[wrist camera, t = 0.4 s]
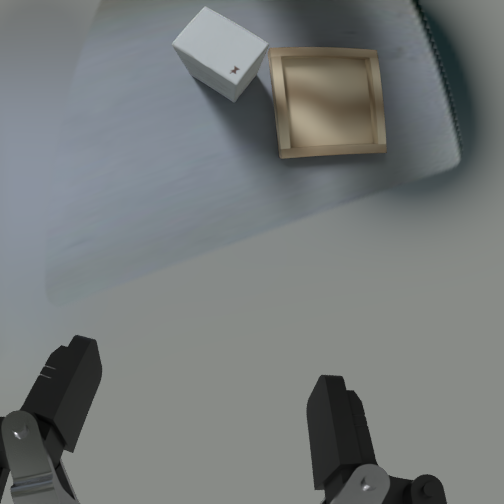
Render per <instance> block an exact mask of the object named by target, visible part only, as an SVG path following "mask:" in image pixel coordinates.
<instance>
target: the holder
mask: <svg viewBox="0 0 504 504" xmlns="http://www.w3.org/2000/svg"><path fill="white" fill-rule="evenodd" d="M268 58H269V67H270V75H271V84H272V93H273V102H274V111H275V120H276V130H277V140H278V150H279V158H282V159H284V158H296V157H309V156H324V155H341V154H363V153H387V149H386V131H385V117H384V106H383V95H382V86H381V77H380V69H379V62H378V55H377V50H369V49H356V48H336V47H282V48H270V49H269V51H268Z"/></svg>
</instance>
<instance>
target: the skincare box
mask: <svg viewBox="0 0 504 504" xmlns="http://www.w3.org/2000/svg"><path fill="white" fill-rule="evenodd" d="M172 46H173V47H174V49H175V51H176V52H177V54H178V55H179V57H180V59H181V60H182V62H183V63H184V65H185V67H186V68H187V70H188V71H189V73H190V74H191V75H192V76H193V77H195V78H197V79H198V80H200V81H201V82H203V83H204V84H206V85H208V86H209V87H211V88H212V89H214V90H215V91H217V92H218V93H220V94H221V95H223V96H225V97H226V98H228V99H229V100H231V101H232V102H233V103H235V102H236V100H237V99H238V98H239V96H240V95H241V94H242V93H243V91H244V90H245V89H246V88H247V86H248V85H249V84H250V82H251V81H252V80H253V78H254V77H255V76H256V75H257V72H258V70H259V68H260V65H261V63H262V60H263V58H264V56H265V54H266V51H267V49H268V46H269V44H268V43H267V42H265V41H264V40H262V39H261V38H259V37H258V36H256V35H254V34H253V33H251V32H250V31H248V30H247V29H245V28H243V27H241V26H240V25H238V24H236V23H234V22H233V21H231V20H229V19H227V18H226V17H224V16H222V15H220V14H219V13H217V12H215V11H213V10H211V9H209V8H208V7H206V6H205V7H204V8H203V9H202V10H201V11H200V12H199V13H198V14H197V15H196V16H195V17H194V18H193V20H192V21H191V22H190V23H189V24H188V25H187V26H186V27H185V29H184V30H183V31H182V32H181V33H180V34H179V36H178V37H177V38H176V39H175V40H174V42H173V43H172Z"/></svg>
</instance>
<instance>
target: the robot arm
mask: <svg viewBox="0 0 504 504" xmlns="http://www.w3.org/2000/svg"><path fill="white" fill-rule="evenodd" d="M101 377H102V365H101V361H100V356H99V351H98V346H97V342H96V340H95V339H91V338H87V337H83V336H79V335H75V336H74V337H73V339H72V341H71V342H70V344H69V346H68V347H65V346H62V345H61V346H60V347H59V348H58V349H56V350H55V351H54V352H53V353H52V354H51V355H50V357H49V358H48V360H47V362H46V364H45V367H43V369H42V371H41V372H40V376H38V378H37V380H36V381H35V383H34V385H33V387H32V389H31V391H30V393H29V395H28V397H27V398H26V400H25V402H24V404H23V406H22V407H21V409H20V410H18V411H13V412H11V413H9V414H8V415H7V416H6V417H0V503H1V499H2V495H3V492H4V488H5V485H6V482H7V478H8V475H9V472H10V471H11V475H12V478H13V486H11V496H12V499H13V502H14V504H80V503H79V501H78V499H77V497H76V494H75V492H74V490H73V487H72V485H71V483H70V480H69V478H68V475H67V473H66V470H65V468H64V465H63V462H62V459H61V455H62V452H63V450H67V451H69V452H72V453H73V452H74V449H75V446H76V443H77V440H78V437H79V435H80V432H81V429H82V427H83V424H84V422H85V419H86V416H87V414H88V411H89V408H90V406H91V403H92V401H93V398H94V396H95V394H96V391H97V389H98V386H99V384H100V381H101ZM364 415H365V413H364V409H363V405H362V402H361V400H360V399H359V397H358V396H357V394H356V393H355V392H354V391H352V390H351V391H350V390H346V387H345V382H344V379H343V377H342V376H333V375H321V376H320V377H319V379H318V381H317V383H316V385H315V387H314V389H313V391H312V393H311V395H310V397H309V400H308V403H307V422H308V430H309V439H310V449H311V458H312V468H313V477H314V487H315V490H325V498H324V499H323V500H322V501H321V503H320V504H447V502H446V497H445V493H444V489H443V485H442V483H441V482H440V480H439V479H438V478H436V477H435V476H432V475H428V474H427V475H421V476H419V477H417V478H416V479H415V480H408V479H402V478H396V477H392V476H390V475H388V474H387V473H386V471H385V470H384V469H383V468H381V467H379V466H378V464H377V462H376V459H375V454H374V450H373V446H372V441H371V437H370V433H369V429H368V426H367V421H366V417H365V416H364Z"/></svg>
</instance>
